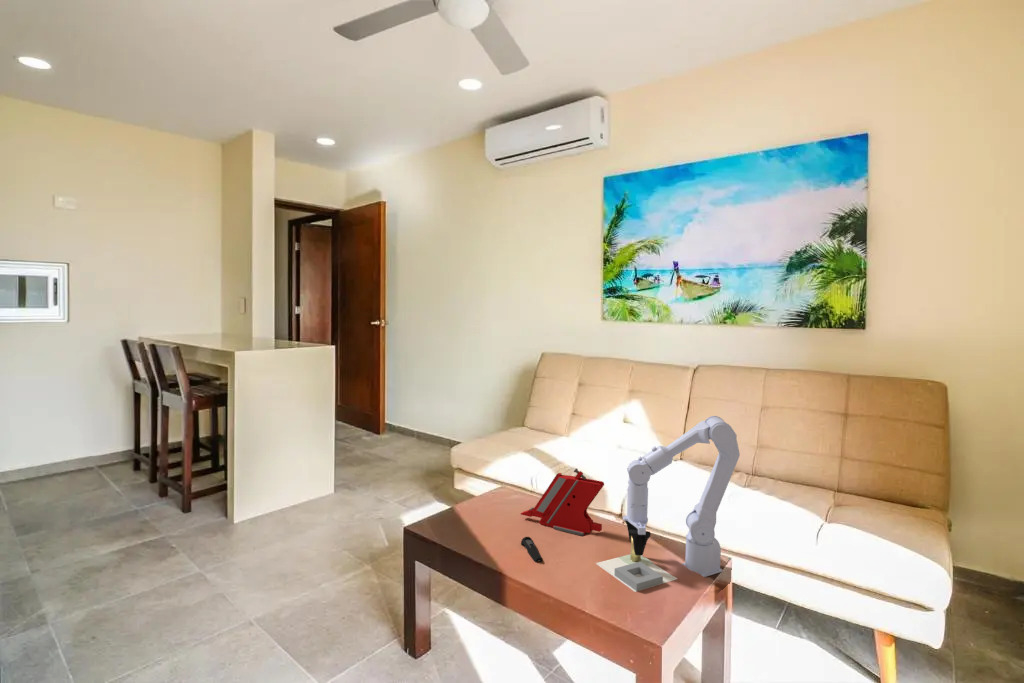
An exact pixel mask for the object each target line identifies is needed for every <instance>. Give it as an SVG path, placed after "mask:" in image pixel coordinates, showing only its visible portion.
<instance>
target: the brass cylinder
mask: <svg viewBox="0 0 1024 683" xmlns="http://www.w3.org/2000/svg"><path fill="white" fill-rule="evenodd" d="M629 554H630V560H631V561H633V562H640V561H641V555H635V552H634V545H633V539H632V536H631V543H630V553H629Z"/></svg>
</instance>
